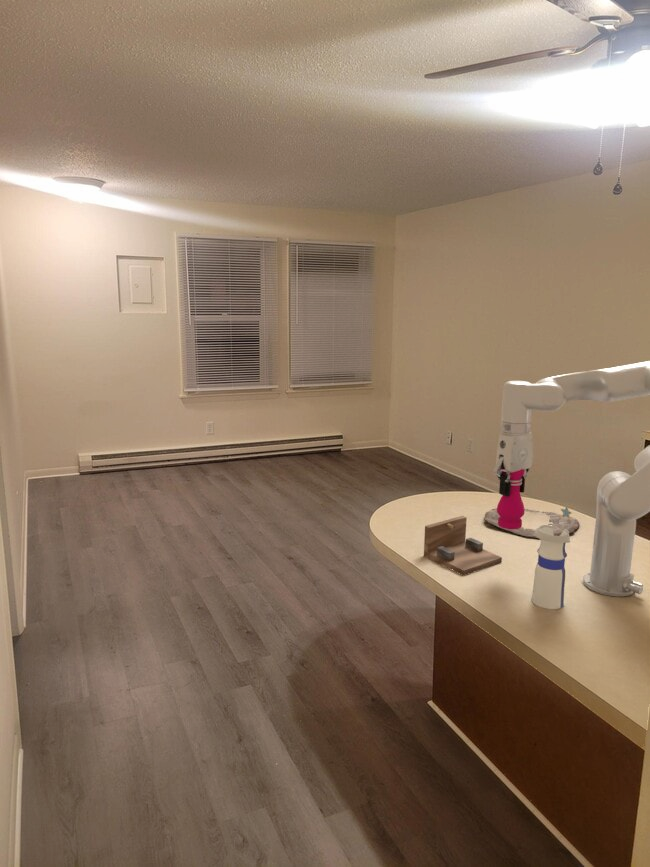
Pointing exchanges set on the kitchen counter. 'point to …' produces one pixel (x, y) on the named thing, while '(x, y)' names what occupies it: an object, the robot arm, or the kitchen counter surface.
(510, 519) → the pepper mill
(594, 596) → the kitchen counter surface
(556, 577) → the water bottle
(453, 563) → the pegged stand
